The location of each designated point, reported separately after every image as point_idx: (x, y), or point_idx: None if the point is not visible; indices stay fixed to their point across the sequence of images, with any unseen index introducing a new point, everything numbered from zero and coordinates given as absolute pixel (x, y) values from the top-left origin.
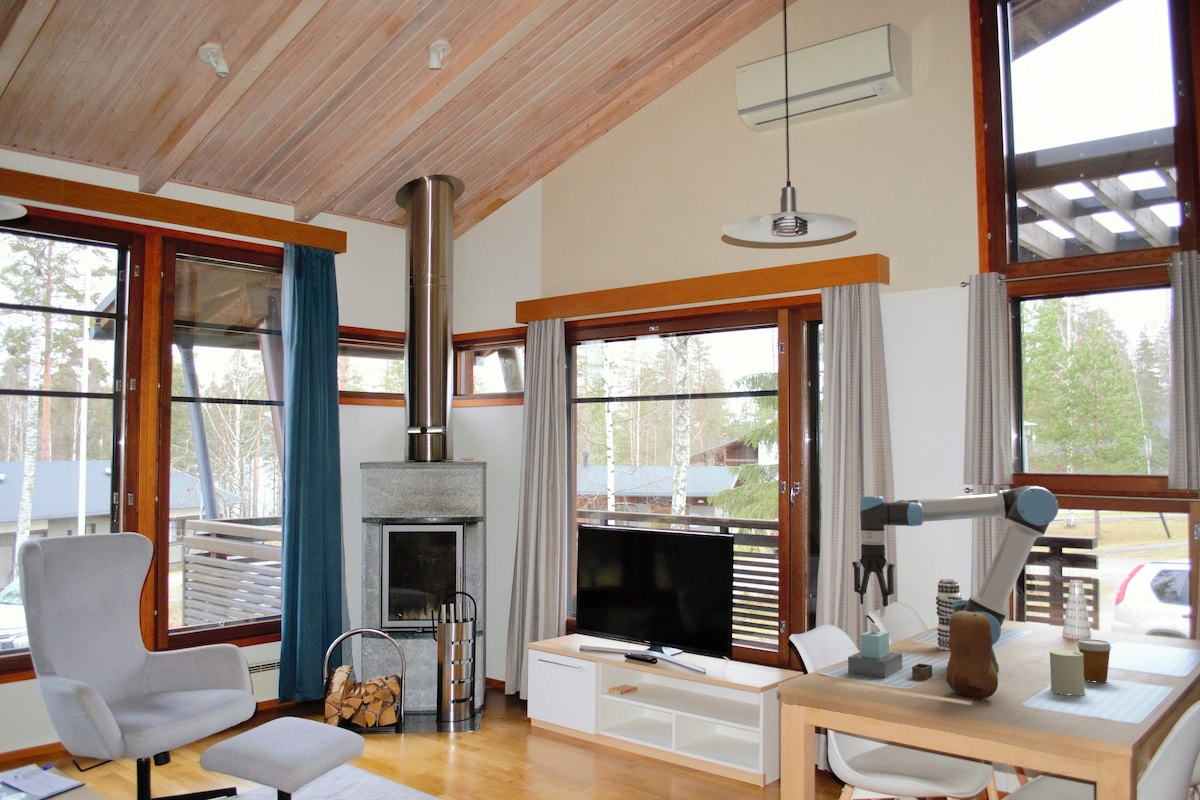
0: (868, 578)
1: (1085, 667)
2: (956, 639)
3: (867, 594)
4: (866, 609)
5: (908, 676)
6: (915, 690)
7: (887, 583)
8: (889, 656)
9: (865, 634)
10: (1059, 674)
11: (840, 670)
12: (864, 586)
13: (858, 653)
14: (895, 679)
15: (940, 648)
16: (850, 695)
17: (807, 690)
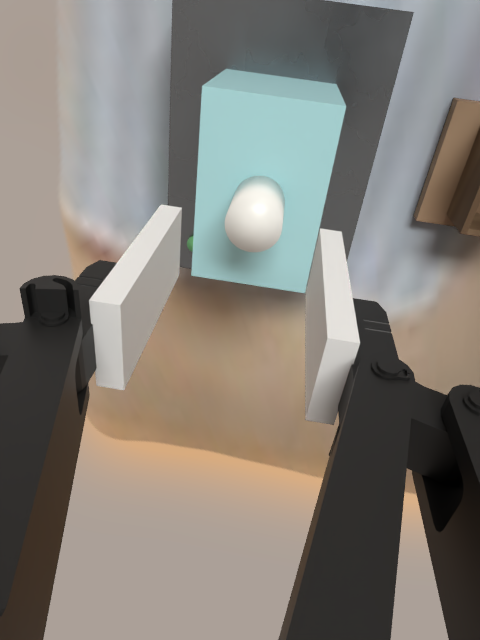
0: (35, 535)
1: None
2: None
3: (121, 326)
4: (168, 277)
5: (430, 184)
6: (450, 332)
7: (446, 613)
8: (346, 157)
9: (216, 265)
10: None
11: (119, 140)
12: (70, 470)
13: (179, 157)
14: (370, 199)
15: None
16: (265, 442)
17: (150, 435)
